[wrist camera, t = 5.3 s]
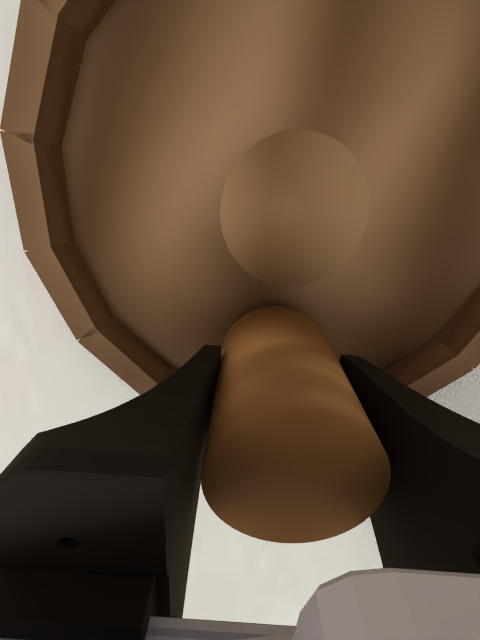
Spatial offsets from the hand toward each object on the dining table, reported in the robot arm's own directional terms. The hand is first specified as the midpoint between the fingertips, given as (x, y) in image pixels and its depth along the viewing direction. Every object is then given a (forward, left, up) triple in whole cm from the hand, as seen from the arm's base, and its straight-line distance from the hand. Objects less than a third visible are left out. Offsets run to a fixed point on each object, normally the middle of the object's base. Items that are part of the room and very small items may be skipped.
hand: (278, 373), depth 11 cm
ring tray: (0, -6, -3) cm, 6 cm away
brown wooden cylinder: (0, 0, -2) cm, 2 cm away
